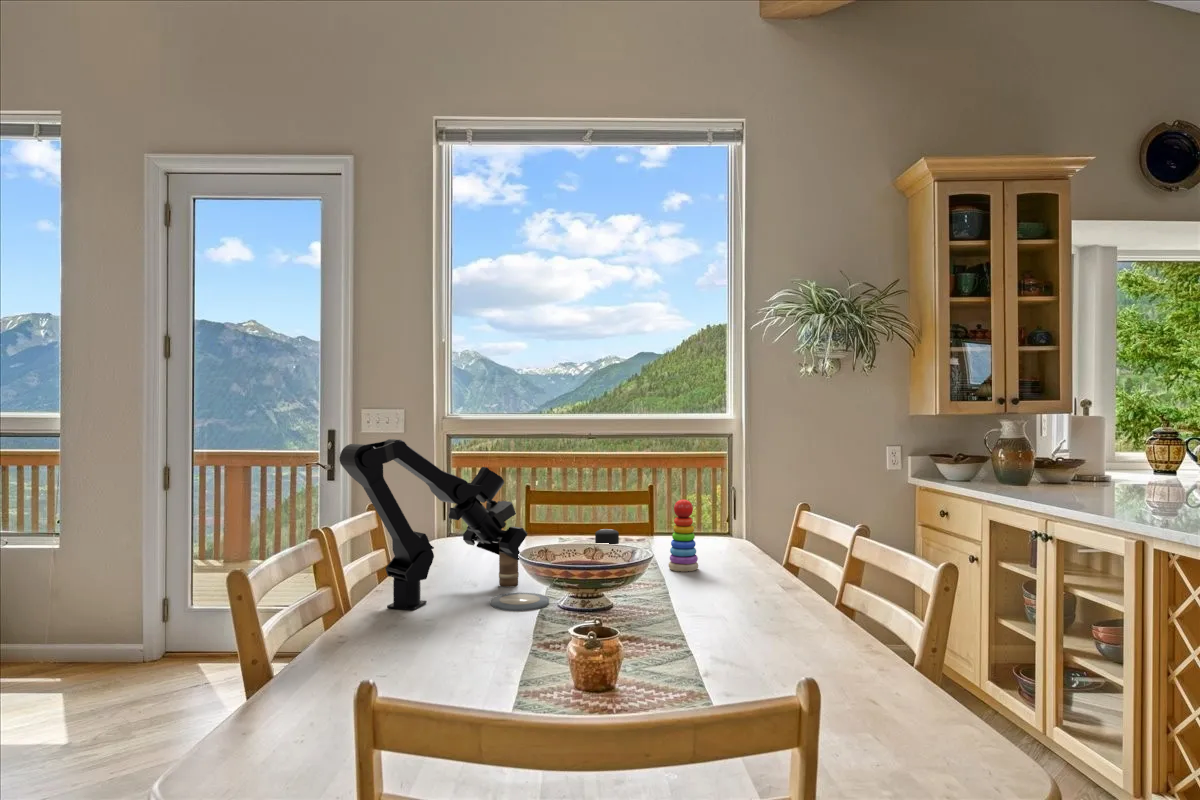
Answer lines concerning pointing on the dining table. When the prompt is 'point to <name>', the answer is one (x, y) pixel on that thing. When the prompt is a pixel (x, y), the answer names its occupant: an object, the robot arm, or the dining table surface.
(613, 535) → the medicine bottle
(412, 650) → the dining table surface
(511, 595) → the hub plate
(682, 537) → the stacking toy
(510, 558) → the brown cylinder
